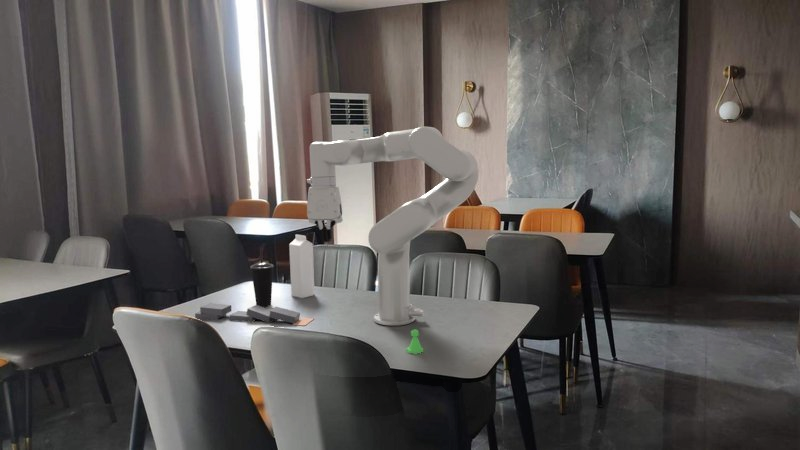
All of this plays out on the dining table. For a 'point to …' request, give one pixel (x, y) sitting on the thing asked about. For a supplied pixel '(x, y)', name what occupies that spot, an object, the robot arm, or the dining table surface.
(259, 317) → the domino
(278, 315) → the domino
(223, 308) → the domino
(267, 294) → the drinking cup
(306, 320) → the head marker
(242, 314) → the domino
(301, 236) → the milk
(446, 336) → the dining table surface
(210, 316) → the domino
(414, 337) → the game piece
